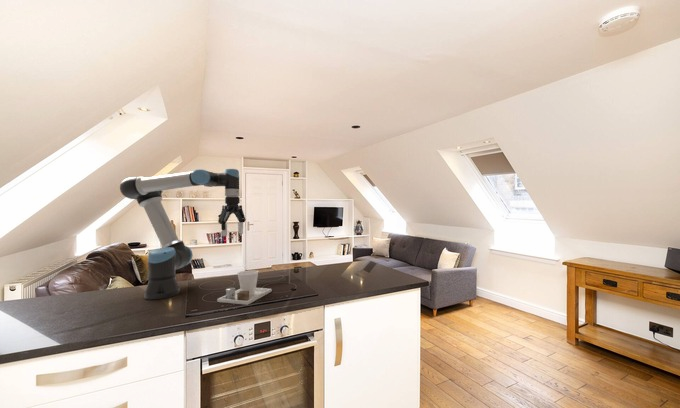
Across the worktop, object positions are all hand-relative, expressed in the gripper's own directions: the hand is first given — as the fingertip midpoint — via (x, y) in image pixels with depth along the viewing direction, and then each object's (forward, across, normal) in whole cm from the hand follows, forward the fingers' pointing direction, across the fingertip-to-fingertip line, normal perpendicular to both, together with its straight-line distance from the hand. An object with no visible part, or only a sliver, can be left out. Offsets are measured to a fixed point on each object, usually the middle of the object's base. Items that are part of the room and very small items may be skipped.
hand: (232, 234), depth 158 cm
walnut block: (+28, -23, -23) cm, 43 cm away
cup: (+28, -15, -20) cm, 38 cm away
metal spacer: (+28, -23, -16) cm, 39 cm away
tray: (+29, -17, -20) cm, 39 cm away
